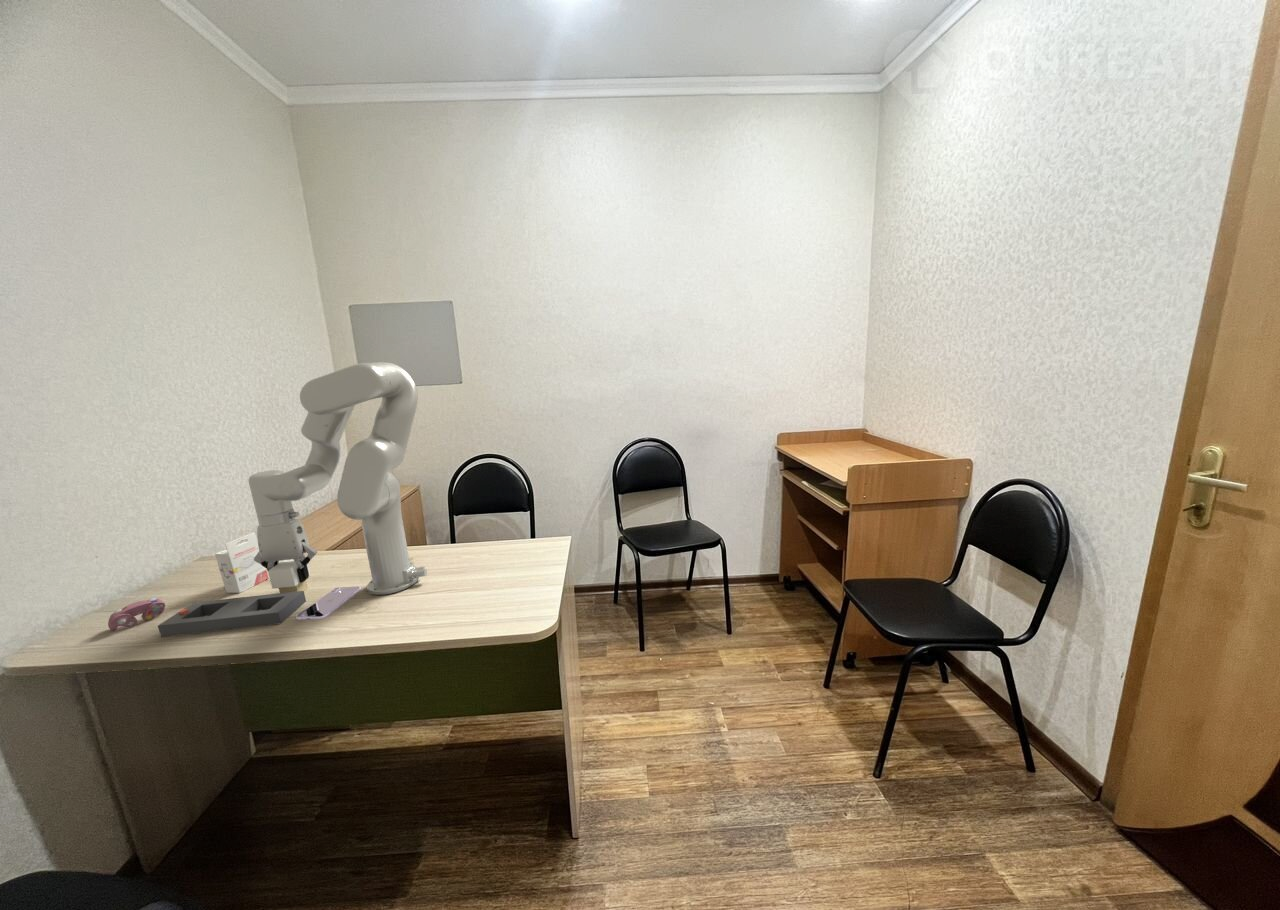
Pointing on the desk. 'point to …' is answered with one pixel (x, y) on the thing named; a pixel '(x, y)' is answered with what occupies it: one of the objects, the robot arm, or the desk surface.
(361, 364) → the robot arm
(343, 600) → the mobile phone
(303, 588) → the plug
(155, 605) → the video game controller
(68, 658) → the desk surface
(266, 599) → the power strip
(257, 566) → the ink cartridge box
